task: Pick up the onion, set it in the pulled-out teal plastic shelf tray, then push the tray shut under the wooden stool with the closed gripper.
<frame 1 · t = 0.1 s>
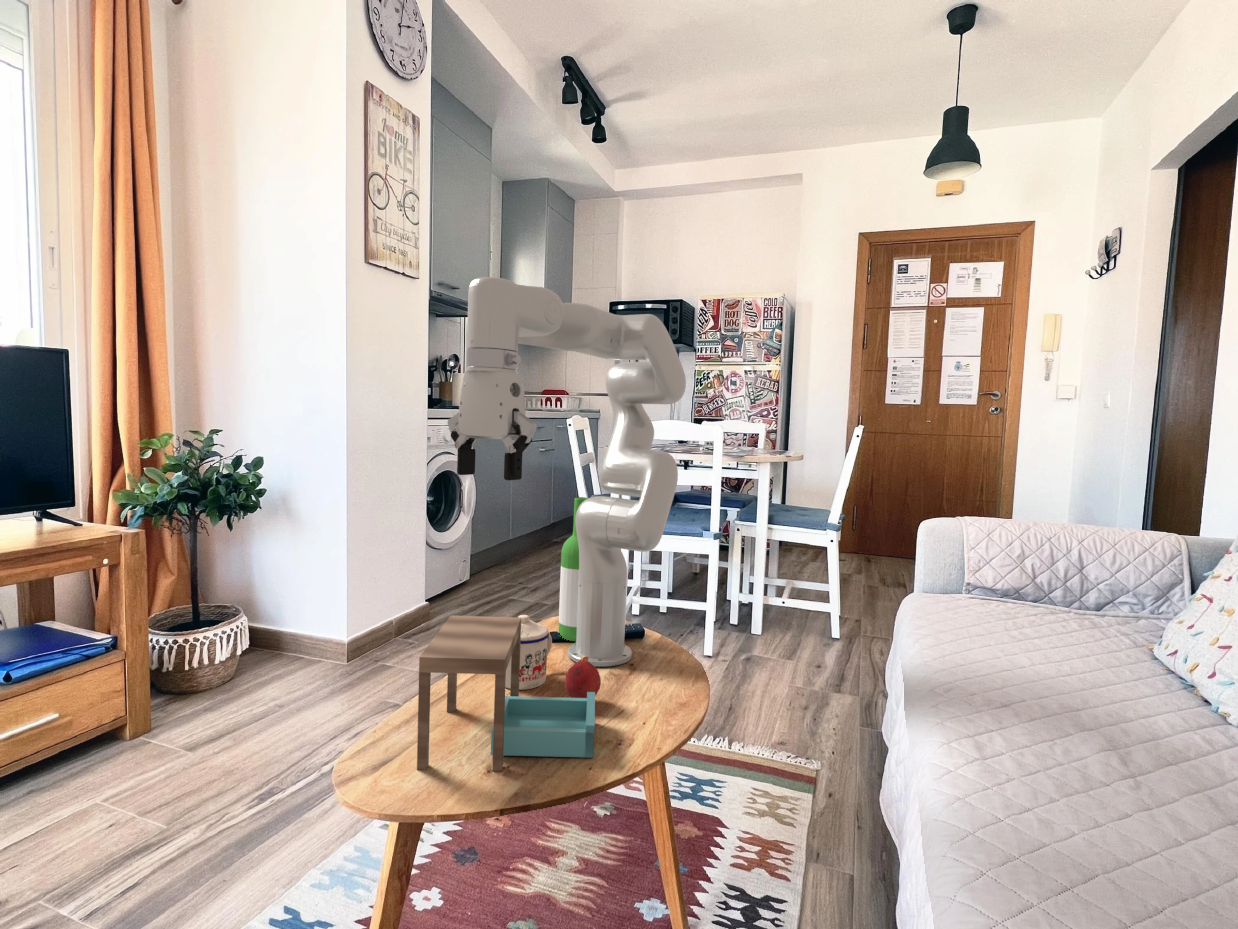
hand: (488, 477, 98), 37 cm above the table, tool pointing down, fingers open, 9 cm apart
shelf tray: (545, 721, 94), point 3 cm above the table, slide at 8.0 cm
wooden stool: (472, 737, 94), on the table
teacup with lid: (527, 679, 116), on the table
onion: (581, 705, 106), on the table
wine bottle: (576, 637, 139), on the table
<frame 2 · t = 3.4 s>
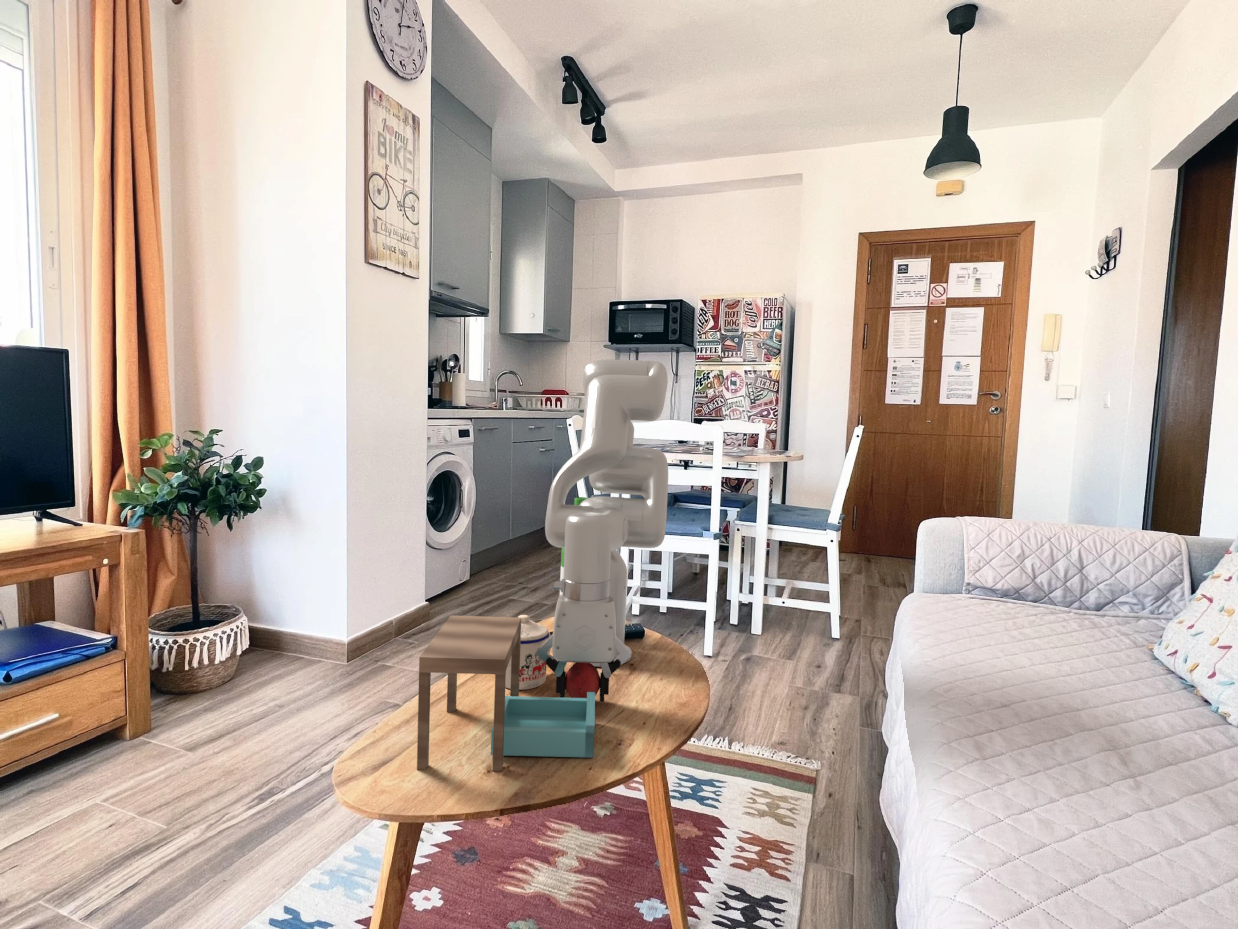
hand: (582, 696, 106), 1 cm above the table, tool pointing down, fingers closed on onion, 5 cm apart
onion: (581, 705, 106), on the table, touching gripper
everything else where it was.
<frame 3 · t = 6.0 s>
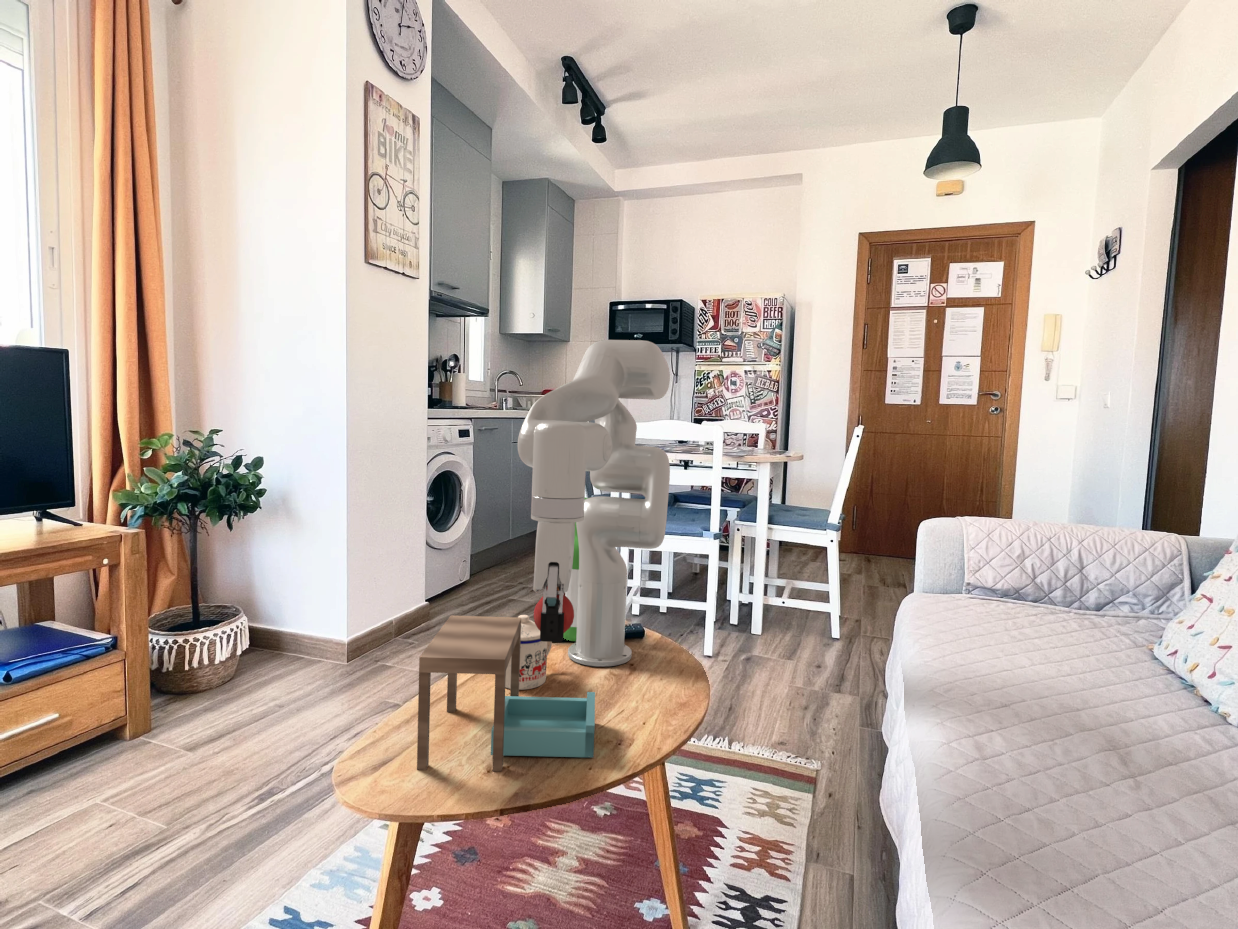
hand: (553, 632, 93), 16 cm above the table, tool pointing down, fingers closed on onion, 5 cm apart
onion: (552, 641, 93), point 14 cm above the table, touching gripper
everything else where it was.
when the fingers open (4 cm above the table, at t = 8.7 s): onion drops 1 cm, resting on shelf tray.
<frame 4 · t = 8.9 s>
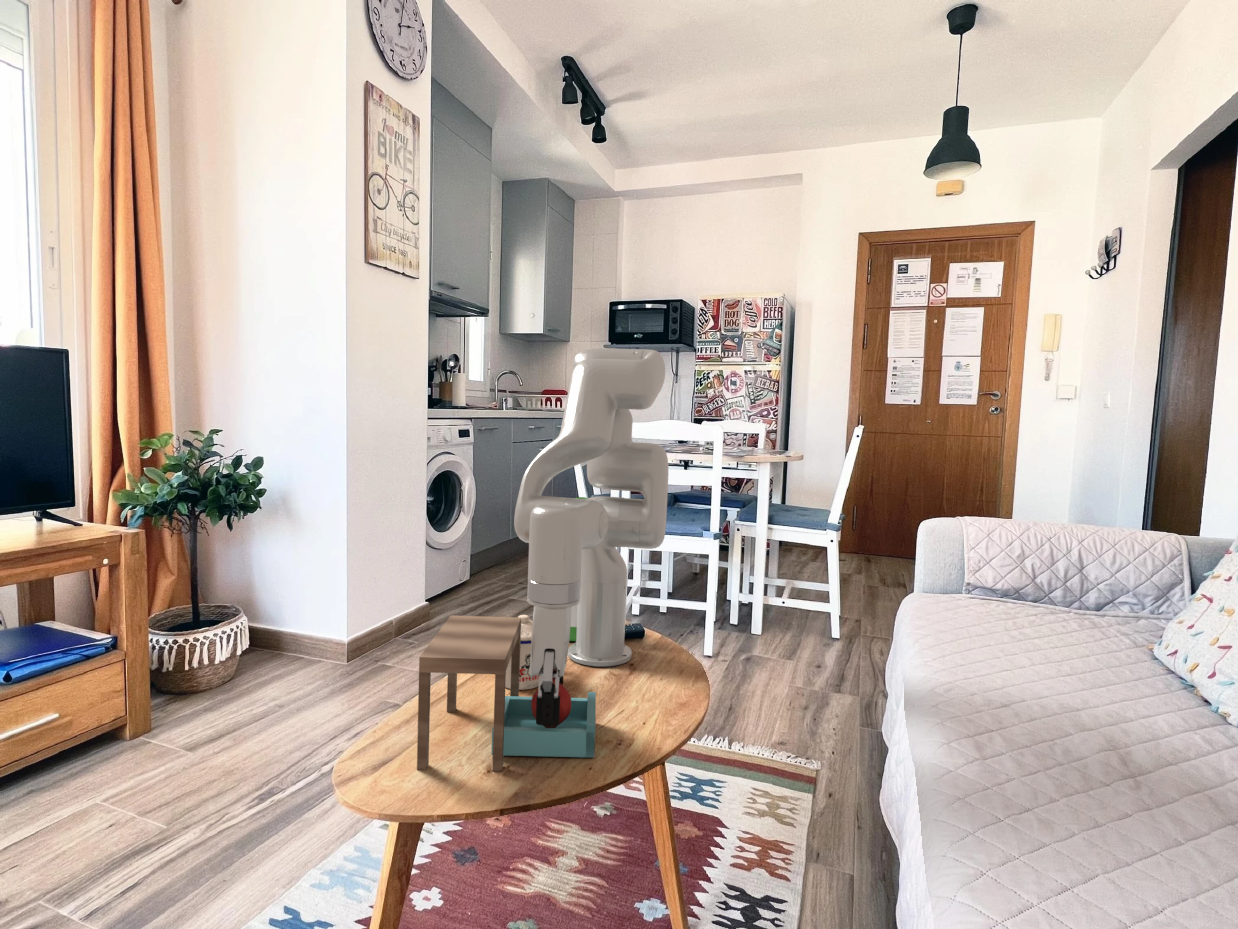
hand: (549, 709, 94), 4 cm above the table, tool pointing down, fingers open, 8 cm apart
shelf tray: (546, 721, 94), point 3 cm above the table, slide at 8.1 cm, touching onion
onion: (549, 730, 94), point 1 cm above the table, touching shelf tray
everything else where it was.
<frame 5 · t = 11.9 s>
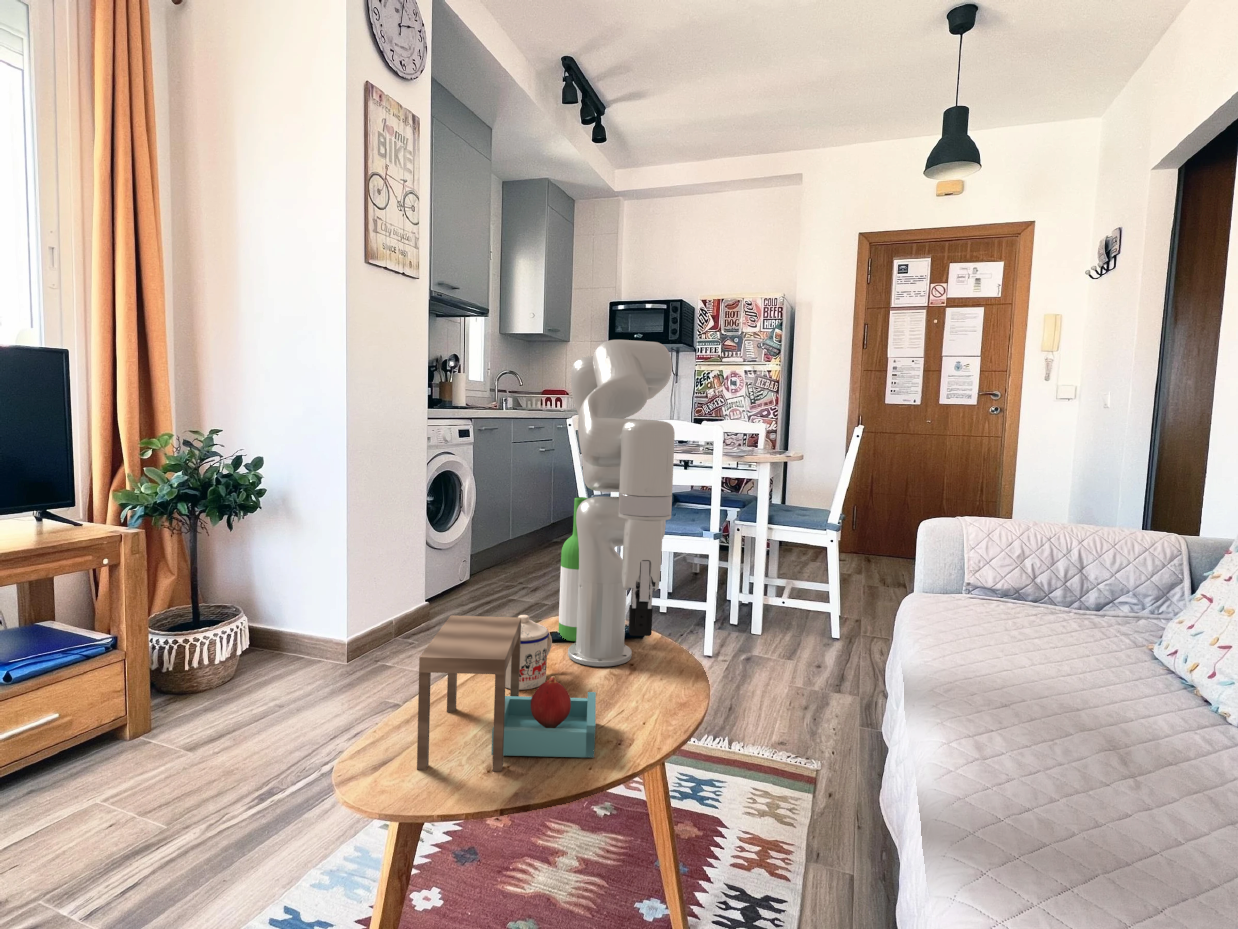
hand: (639, 633, 93), 16 cm above the table, tool pointing down, fingers closed
nothing on the table moved.
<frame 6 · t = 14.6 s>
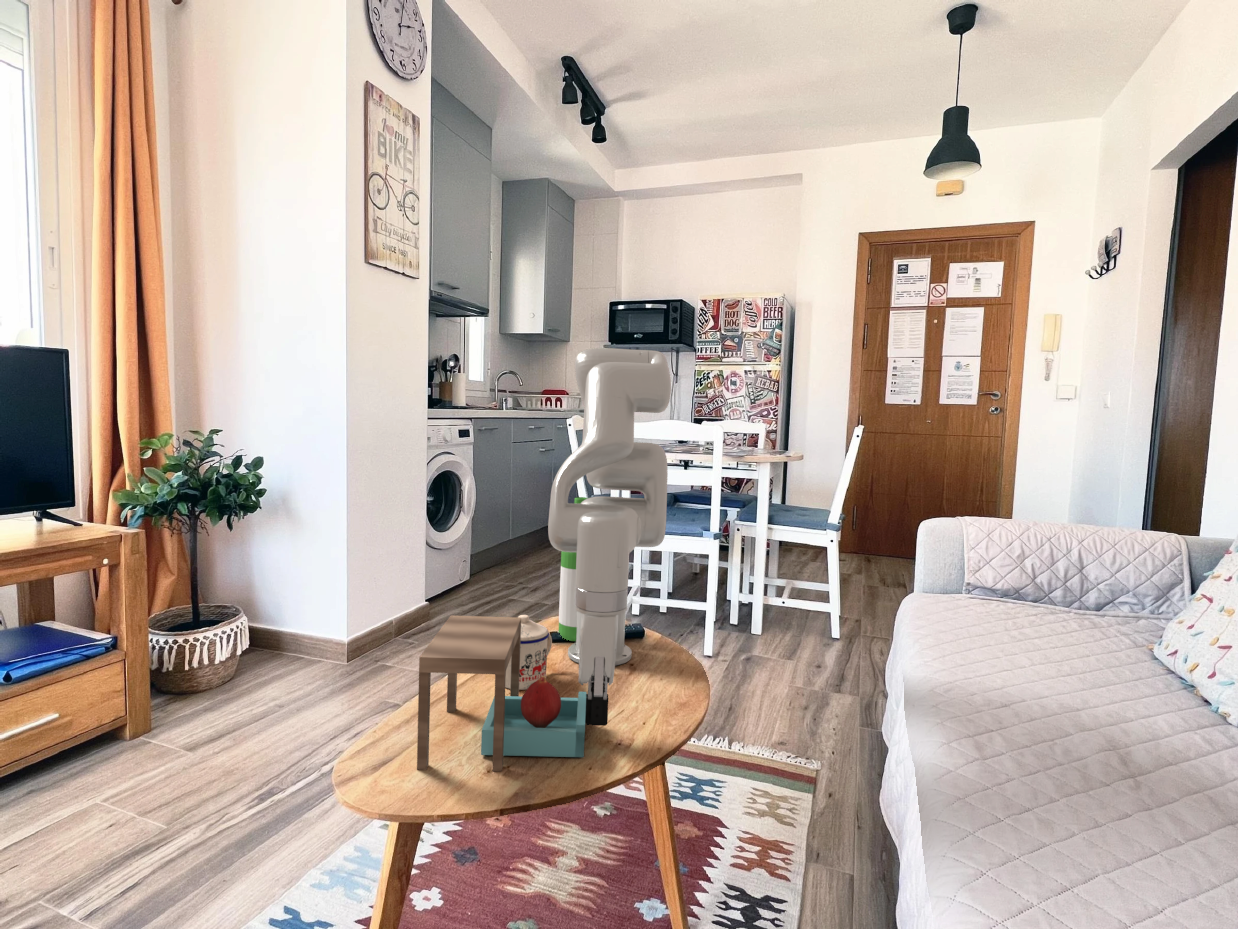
hand: (596, 722, 94), 3 cm above the table, tool pointing down, fingers closed
shelf tray: (536, 721, 94), point 3 cm above the table, slide at 6.7 cm, touching gripper, onion
onion: (540, 730, 94), point 1 cm above the table, touching shelf tray
everything else where it was.
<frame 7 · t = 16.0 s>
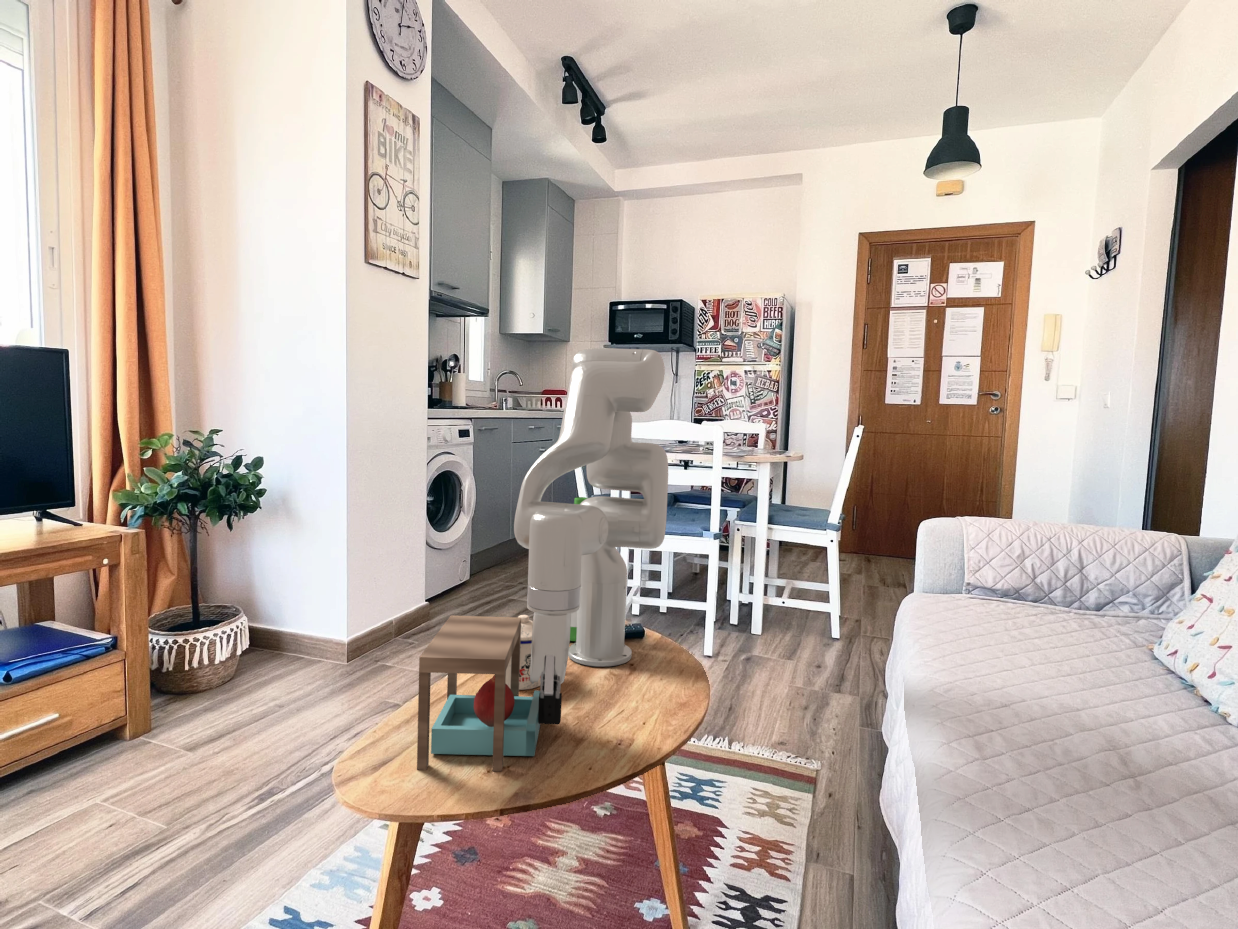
hand: (549, 721, 94), 3 cm above the table, tool pointing down, fingers closed
shelf tray: (489, 720, 94), point 3 cm above the table, slide at -0.1 cm, touching gripper, onion
onion: (493, 729, 94), point 1 cm above the table, touching shelf tray
everything else where it was.
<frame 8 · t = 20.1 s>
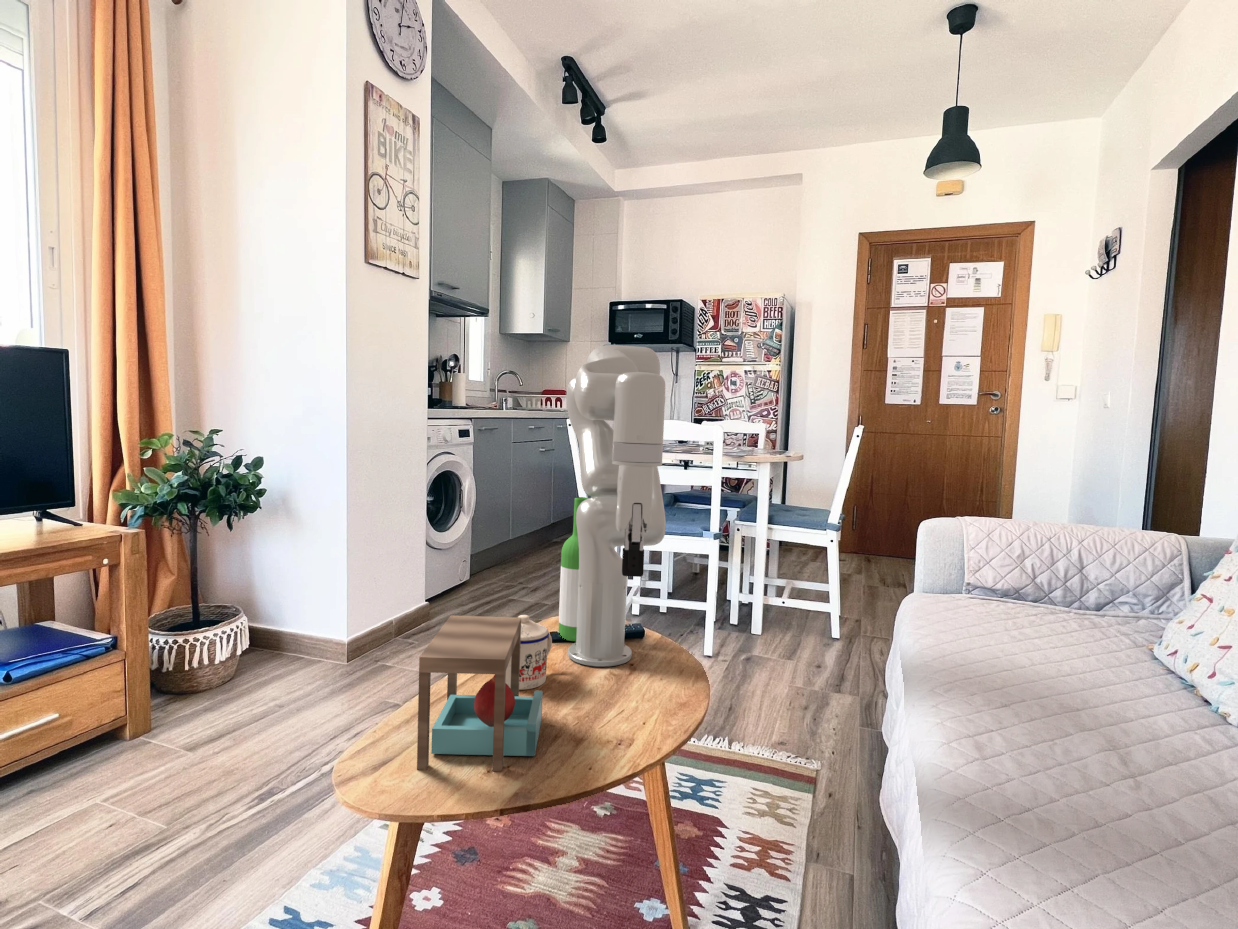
hand: (632, 574, 99), 23 cm above the table, tool pointing down, fingers closed
shelf tray: (490, 720, 94), point 3 cm above the table, slide at 0.0 cm, touching onion
everything else where it was.
at the end: shelf tray slide at 0.0 cm; onion inside the target area (1.5 cm from its centre), point 1.1 cm above the table; onion touching shelf tray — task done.
